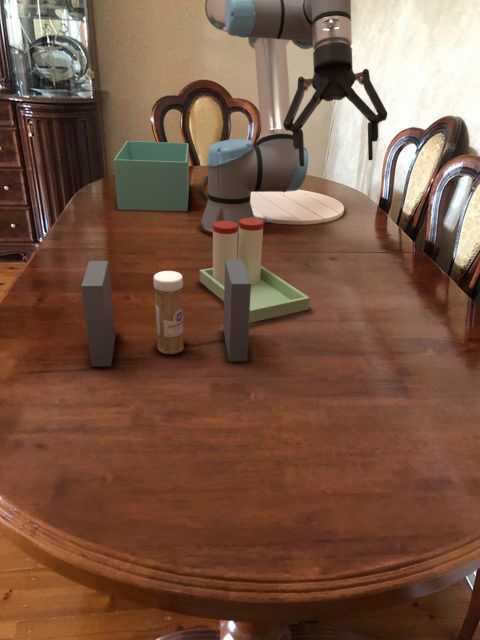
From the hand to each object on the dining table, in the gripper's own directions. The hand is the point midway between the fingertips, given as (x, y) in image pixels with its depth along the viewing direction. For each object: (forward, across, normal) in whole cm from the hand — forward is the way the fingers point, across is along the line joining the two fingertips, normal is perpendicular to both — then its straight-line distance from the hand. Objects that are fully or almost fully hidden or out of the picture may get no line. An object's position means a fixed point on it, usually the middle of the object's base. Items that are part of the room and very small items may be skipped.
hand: (335, 162), depth 105 cm
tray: (+26, -18, -2) cm, 32 cm away
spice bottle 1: (+23, -24, 0) cm, 34 cm away
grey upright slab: (+34, -18, -21) cm, 44 cm away
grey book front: (+33, -38, -29) cm, 58 cm away
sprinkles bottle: (+34, -28, -25) cm, 51 cm away
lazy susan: (-1, -20, +65) cm, 68 cm away
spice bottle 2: (+23, -20, +4) cm, 30 cm away
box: (-6, -60, +60) cm, 85 cm away
